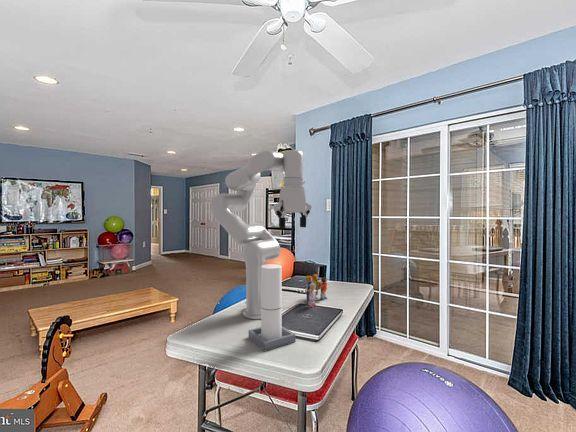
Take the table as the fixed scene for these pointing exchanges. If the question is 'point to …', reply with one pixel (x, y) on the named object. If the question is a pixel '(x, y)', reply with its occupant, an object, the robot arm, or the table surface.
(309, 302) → the doll family
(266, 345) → the tray
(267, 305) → the cylindrical container
